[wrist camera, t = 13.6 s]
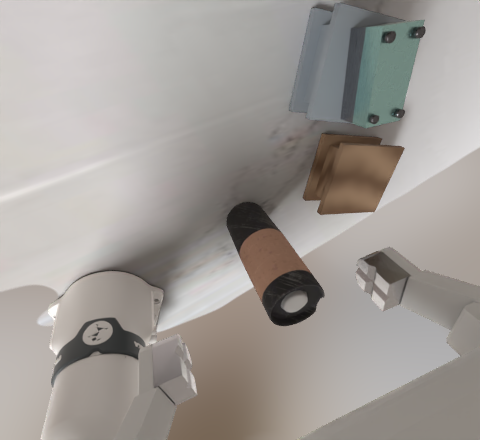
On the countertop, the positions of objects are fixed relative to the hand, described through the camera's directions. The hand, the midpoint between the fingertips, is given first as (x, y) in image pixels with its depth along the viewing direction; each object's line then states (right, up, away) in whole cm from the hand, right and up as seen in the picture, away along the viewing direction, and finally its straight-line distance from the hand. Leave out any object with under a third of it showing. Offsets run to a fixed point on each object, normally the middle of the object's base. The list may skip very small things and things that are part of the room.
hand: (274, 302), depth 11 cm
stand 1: (+12, +25, +27) cm, 39 cm away
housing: (+14, +22, +22) cm, 34 cm away
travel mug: (-1, +4, +36) cm, 37 cm away
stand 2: (+17, +13, +37) cm, 43 cm away
